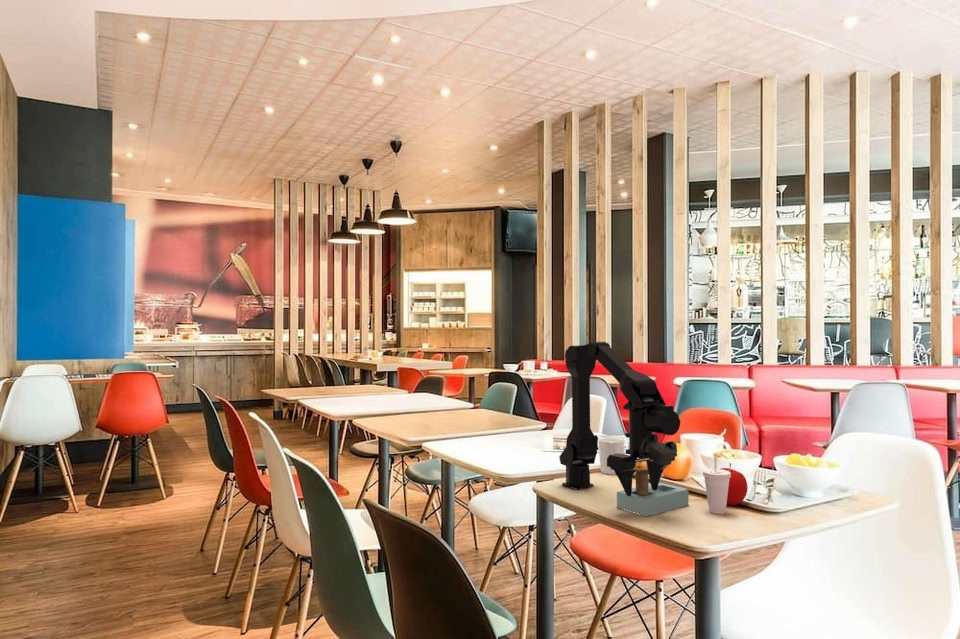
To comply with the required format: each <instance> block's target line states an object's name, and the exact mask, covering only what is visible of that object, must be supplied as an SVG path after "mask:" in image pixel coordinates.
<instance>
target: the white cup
mask: <svg viewBox="0 0 960 639" xmlns="http://www.w3.org/2000/svg"><path fill="white" fill-rule="evenodd" d="M625 443H626V442H625V439H623V438H619V437H601V438H598V449H599V450H598V453H599V454H598V455H599V464H600V466H599V468H600V472H601V473H602V474H605V475H611V476H613V475H616V473H615V472H614V470H612V469H611V467H608V466H607V457H608V456H609V455H612V454H618V453H621V454H625ZM616 476H617V475H616Z"/></svg>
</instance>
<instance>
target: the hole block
mask: <svg viewBox="0 0 960 639" xmlns="http://www.w3.org/2000/svg"><path fill="white" fill-rule="evenodd" d="M689 497H690V496H689V488H684V487H681V486H676V485H672V484H669V483H663V482H660V481H659V484H658V487H657V490H652V487H651V483H648V495H647V496H639V495H636V487H632V493H631V496H627V495H626V493H625V491H624V489H623V490H619V491H616V508H617V507H618V508H617V509H619V508H622V509H625V510H628V511H631V512H630V513H632V512H635V513H638V514H640V515H639V516H641V515H644V516H647V517H650V516H649V515H651V516H653V515H657V514H661V513H665V512H670V511H674V510H676V509H681V508H684V507H689V503H690V502H689V501H690V500H689ZM622 509H621V510H622ZM625 510H624V511H625ZM628 511H627V512H628ZM635 513H634V514H635ZM638 514H637V515H638ZM644 516H643V517H644Z"/></svg>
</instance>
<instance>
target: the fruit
mask: <svg viewBox="0 0 960 639" xmlns="http://www.w3.org/2000/svg"><path fill="white" fill-rule="evenodd" d="M731 466H732V463H731V462H729V468H728V467H720V468H719V469H722V470H726V471H729V472H730V473H731V477H730V478H729V487H728V495H727V504H726V506H736V505H739V504H740V503H741V502H743V501H744V500H745V498H746V496H747V493H748V482H747V481H748V480H747V479H746V477H745V475H744V474H743V473H742V472H741V471H737V470H735V469H732V468H731Z"/></svg>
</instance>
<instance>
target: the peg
mask: <svg viewBox="0 0 960 639" xmlns="http://www.w3.org/2000/svg"><path fill="white" fill-rule="evenodd" d="M635 470H636V472H635V488H636V495H639V496H647V495H648V485H649V473H648V469H644V468H642V469H641V468H640V469H639V468H638V469H635Z"/></svg>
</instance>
